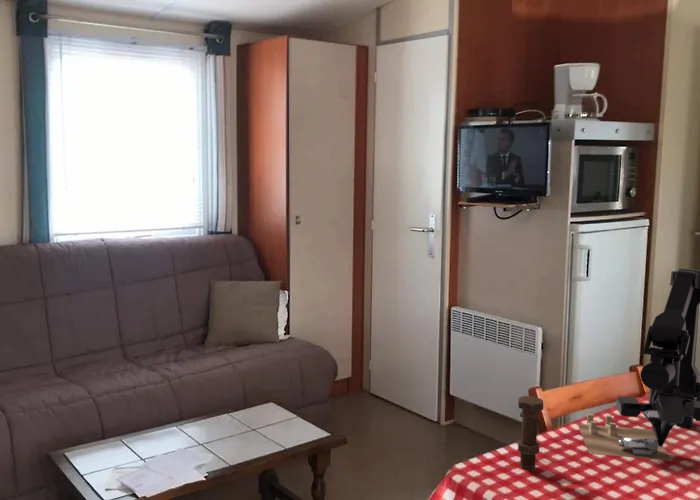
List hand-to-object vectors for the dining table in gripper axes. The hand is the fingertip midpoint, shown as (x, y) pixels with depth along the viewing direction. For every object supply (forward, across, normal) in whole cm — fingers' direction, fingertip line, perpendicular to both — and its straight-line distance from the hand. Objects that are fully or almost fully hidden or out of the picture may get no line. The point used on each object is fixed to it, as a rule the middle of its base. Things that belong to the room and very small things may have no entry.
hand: (660, 445), depth 158 cm
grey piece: (+2, -5, 0) cm, 5 cm away
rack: (+2, -11, +11) cm, 16 cm away
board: (+2, -7, +5) cm, 9 cm away
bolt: (+2, -30, -12) cm, 32 cm away
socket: (+2, -4, 0) cm, 5 cm away
